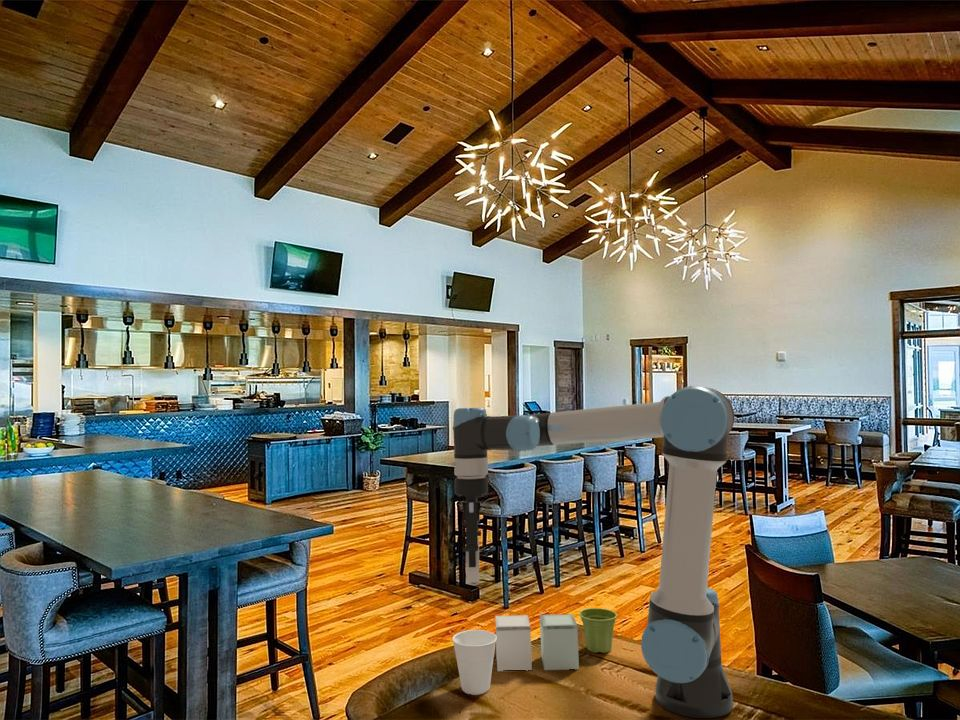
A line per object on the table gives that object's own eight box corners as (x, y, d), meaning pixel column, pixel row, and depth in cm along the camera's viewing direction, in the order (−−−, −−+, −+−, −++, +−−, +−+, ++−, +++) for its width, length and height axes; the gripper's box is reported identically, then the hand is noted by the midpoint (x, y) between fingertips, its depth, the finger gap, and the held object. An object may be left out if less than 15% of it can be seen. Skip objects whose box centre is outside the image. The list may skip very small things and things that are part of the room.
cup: (499, 679, 142) (498, 629, 143) (496, 700, 132) (495, 646, 133) (456, 679, 143) (455, 629, 144) (449, 699, 133) (448, 645, 134)
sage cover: (578, 669, 147) (577, 625, 148) (544, 670, 147) (543, 626, 147) (573, 655, 155) (572, 614, 155) (541, 656, 155) (540, 614, 155)
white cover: (531, 670, 147) (530, 626, 147) (497, 671, 147) (496, 627, 147) (529, 656, 155) (527, 615, 155) (496, 657, 155) (495, 615, 155)
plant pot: (596, 639, 165) (595, 605, 166) (626, 649, 158) (624, 613, 159) (572, 648, 159) (571, 613, 160) (601, 659, 152) (600, 622, 153)
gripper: (456, 471, 154) (458, 560, 152) (451, 483, 129) (453, 590, 127) (487, 470, 154) (489, 559, 152) (488, 483, 129) (491, 589, 127)
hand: (473, 573), depth 140 cm, fingers open, 13 cm apart
